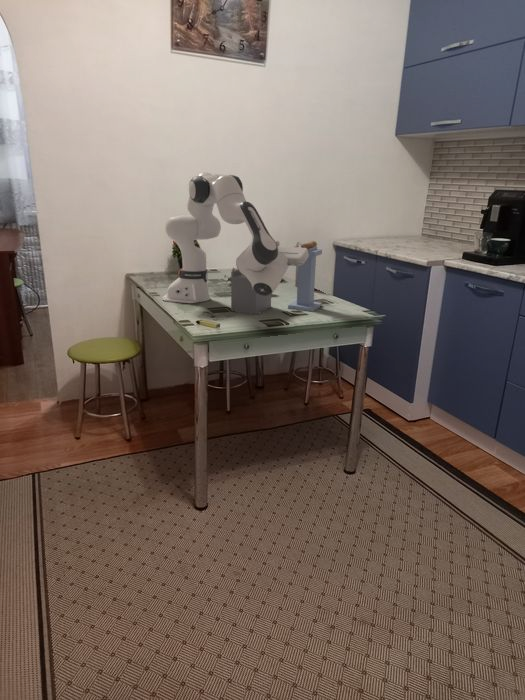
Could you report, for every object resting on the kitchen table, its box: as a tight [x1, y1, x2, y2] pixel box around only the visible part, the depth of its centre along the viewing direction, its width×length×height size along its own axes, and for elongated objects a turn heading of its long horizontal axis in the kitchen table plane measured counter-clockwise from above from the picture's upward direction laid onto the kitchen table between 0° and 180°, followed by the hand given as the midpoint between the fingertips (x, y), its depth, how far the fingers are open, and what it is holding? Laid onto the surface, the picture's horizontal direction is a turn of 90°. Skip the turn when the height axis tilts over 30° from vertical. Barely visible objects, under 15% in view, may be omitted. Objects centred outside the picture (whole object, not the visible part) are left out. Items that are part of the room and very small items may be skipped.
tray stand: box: [230, 269, 272, 315], centre depth 224 cm, size 16×12×18 cm
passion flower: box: [224, 267, 238, 286], centre depth 274 cm, size 11×11×12 cm
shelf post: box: [287, 246, 323, 312], centre depth 227 cm, size 12×12×27 cm
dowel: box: [294, 240, 318, 249], centre depth 221 cm, size 22×3×3 cm, turn 155°
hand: (288, 243), depth 201 cm, fingers open, 8 cm apart
